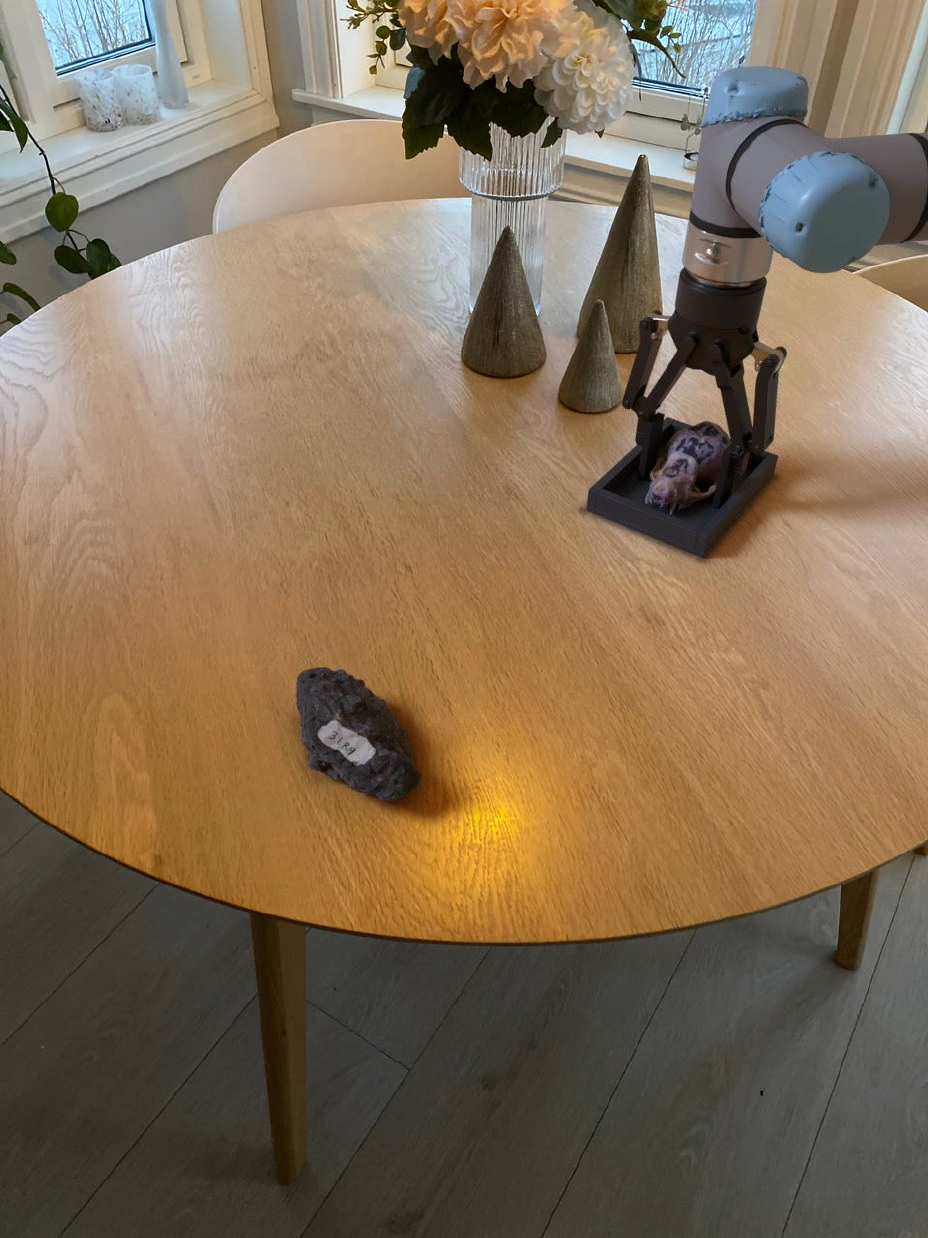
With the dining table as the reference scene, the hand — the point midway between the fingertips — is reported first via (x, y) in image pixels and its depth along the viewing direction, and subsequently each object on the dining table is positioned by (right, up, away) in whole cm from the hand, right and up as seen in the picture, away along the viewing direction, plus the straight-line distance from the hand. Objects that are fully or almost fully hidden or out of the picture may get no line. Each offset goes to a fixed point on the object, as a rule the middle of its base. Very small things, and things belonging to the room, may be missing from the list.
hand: (683, 486), depth 99 cm
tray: (0, -1, +1) cm, 1 cm away
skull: (0, 0, 0) cm, 1 cm away
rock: (-31, -24, -24) cm, 46 cm away
